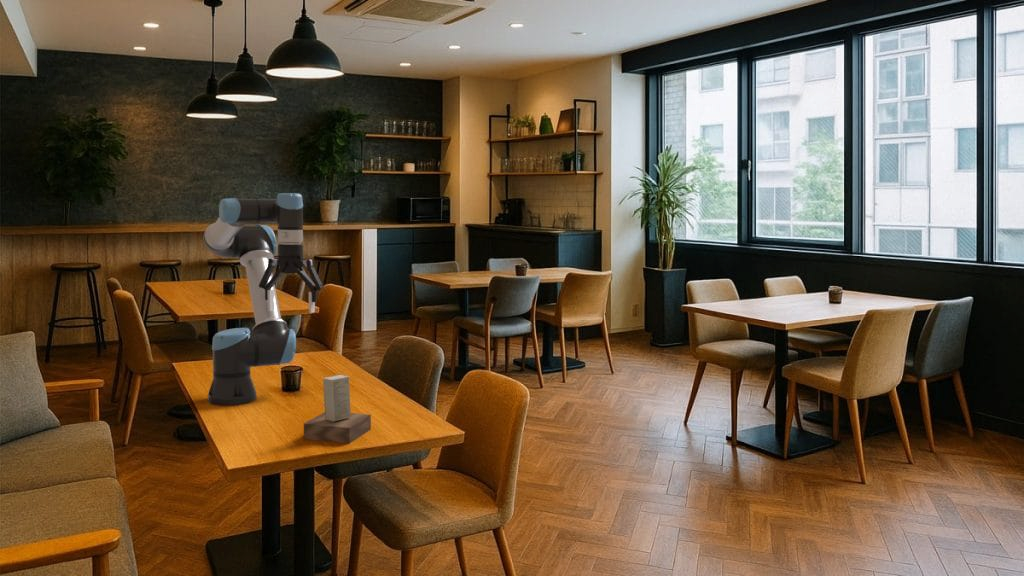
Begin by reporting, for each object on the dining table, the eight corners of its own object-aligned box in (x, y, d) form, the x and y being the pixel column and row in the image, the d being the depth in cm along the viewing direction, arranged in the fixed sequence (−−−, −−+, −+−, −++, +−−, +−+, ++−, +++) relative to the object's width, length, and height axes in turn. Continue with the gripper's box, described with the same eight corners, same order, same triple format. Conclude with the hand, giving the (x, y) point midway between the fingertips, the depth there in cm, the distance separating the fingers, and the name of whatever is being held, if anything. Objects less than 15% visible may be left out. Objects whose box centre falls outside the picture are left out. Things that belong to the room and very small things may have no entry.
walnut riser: (303, 440, 226) (303, 423, 225) (327, 427, 239) (327, 410, 239) (349, 445, 222) (349, 427, 222) (370, 431, 236) (370, 414, 235)
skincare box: (342, 415, 234) (341, 374, 233) (351, 418, 231) (349, 376, 230) (324, 419, 229) (322, 377, 228) (332, 422, 226) (330, 379, 225)
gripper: (246, 242, 246) (248, 311, 249) (323, 245, 242) (324, 315, 245) (258, 241, 254) (259, 308, 256) (333, 243, 250) (333, 311, 252)
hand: (291, 311), depth 250 cm, fingers open, 13 cm apart
